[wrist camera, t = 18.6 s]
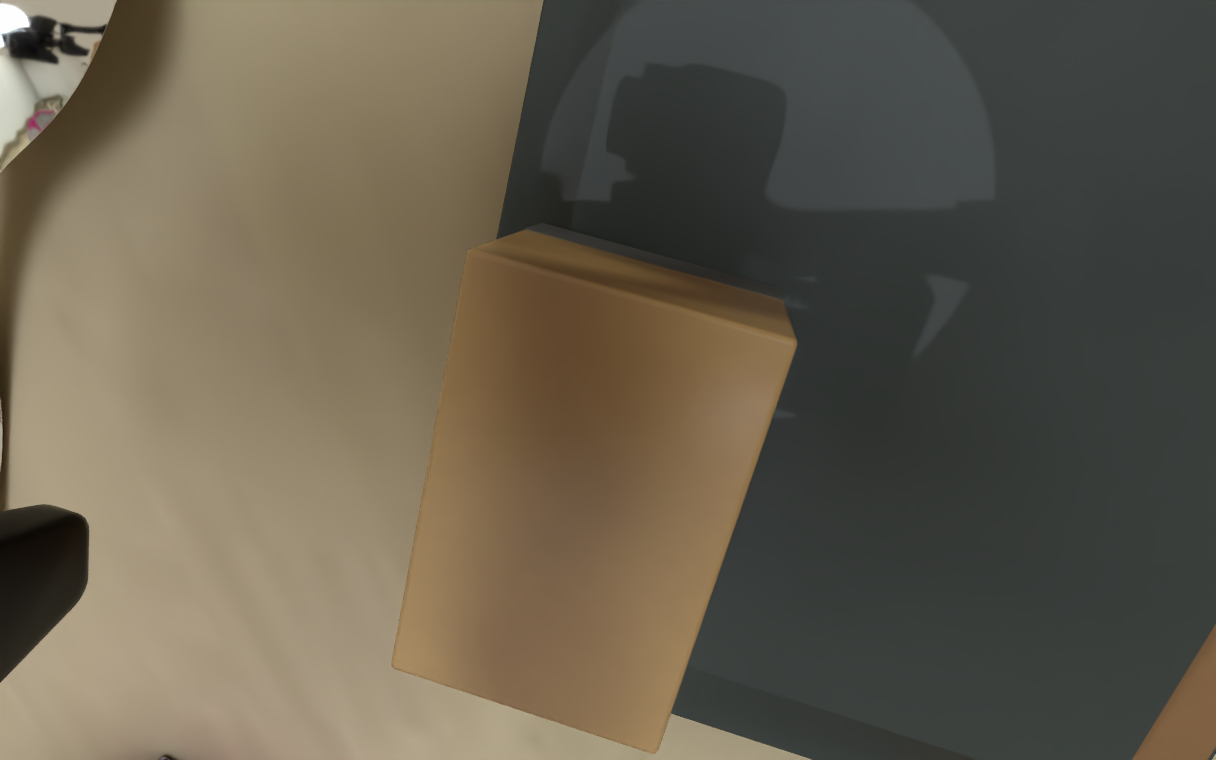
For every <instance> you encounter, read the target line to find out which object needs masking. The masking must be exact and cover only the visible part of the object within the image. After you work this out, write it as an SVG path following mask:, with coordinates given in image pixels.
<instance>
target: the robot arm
mask: <svg viewBox="0 0 1216 760" xmlns="http://www.w3.org/2000/svg"><path fill="white" fill-rule="evenodd" d="M88 560H89V525H88V523H87V521H86V519H85V517H83V516H82V515H80V514H78V513H75V512H72V511H69V510H66V509H63V508H60V507H57V506H53V505H46V504H42V505H35V506H29V507H24V508H18V509H12V510H6V511H0V682H1V681H2V680H3V679H4V678H5V677H6V676H7V675H8V674H9V673H10V672H11V671H12V670H13V669H14V668H15V667H16V666H17V665H18V664H19V663H20V662H21V661H22V660H23V659H24V658H25V657H26V656H27V655H28V654H29V652H30V651H31V650H32V649H33V648H34V647H35V646H36V645H37V644H38V643H39V642H40V641H41V640H42V639H43V638H44V637H45V636H46V635H47V634H48V633H49V632H50V631H51V630H52V629H53V628H54V627H55V626H56V625H57V624H58V623H59V621H60V620H61V619H62V618H63V617H64V616H65V615H66V614H67V613H68V612H69V611H70V610H71V609H72V608H73V607H74V606H75V605H76V603H77V602H78V601H79V599H80V598H81V596H82V595H83V593H84V591H85V589H86V585H87V582H88Z"/></svg>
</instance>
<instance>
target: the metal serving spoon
mask: <svg viewBox="0 0 1216 760" xmlns="http://www.w3.org/2000/svg"><path fill="white" fill-rule="evenodd" d="M116 1H117V0H0V173H1V172H2V171H3V170H4V168H5V167H6V166H7V165H8V164H9V163H10V162H11V161H12V160H13V159H14V158H15V157H16V156H17V155H18V154H19V153H20V152H21V151H22V150H23V149H25V148H26V147H27V146H28V145H29V144H30V143H31V142H32V141H33V140H34V139H35V138H36V137H37V136H38V135H39V134H40V133H41V132H42V131H43V130H44V129H45V128H46V127H47V126H48V125H49V124H50V123H51V121H52V120H53V119H54V118H55V117H56V116H57V114H58V113H59V112H60V111H61V110H62V108H63V107H64V106H65V104H66V103H67V102H68V100H69V99H70V97H71V96H72V95H73V93H74V91H75V90H76V88H77V87H78V85H79V84H80V82H81V80H82V78H83V77H84V75H85V73H86V71H87V69H88V67H89V66H90V64H91V62H92V60H93V57H94V55H95V53H96V51H97V49H98V47H99V44H100V42H101V40H102V37H103V35H104V33H105V30H106V28H107V25H108V23H109V20H110V18H111V15H112V12H113V10H114V7H115V4H116ZM2 441H3V417H2V402H1V393H0V470H1V460H2Z"/></svg>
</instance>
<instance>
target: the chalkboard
mask: <svg viewBox="0 0 1216 760" xmlns="http://www.w3.org/2000/svg"><path fill="white" fill-rule="evenodd" d="M540 223H545V224H549V225H552V226H556V227H560V228H563V229H567V230H571V231H574V232H578V233H582V234H585V235H589V236H592V237H596V238H600V239H603V240H607V241H611V242H614V243H618V244H622V245H625V246H629V247H633V248H636V249H640V250H644V251H647V252H651V253H655V254H658V255H662V256H665V257H669V258H673V259H676V260H680V261H684V262H687V263H691V264H695V265H698V266H702V267H706V268H709V269H713V270H717V271H720V272H724V273H728V274H731V275H735V276H738V277H742V278H746V279H749V280H753V281H757V282H760V283H764V284H768V285H771V286H775V287H779V288H780V289H781V292H782V295H783V298H784V304H785V307H786V310H787V313H788V316H789V319H790V322H791V325H792V328H793V330H794V333H795V336H796V339H797V348H796V351H795V354H794V357H793V359H792V362H791V365H790V368H789V371H788V374H787V377H786V380H785V383H784V386H783V389H782V391H781V394H780V397H779V400H778V403H777V406H776V409H775V412H774V415H773V418H772V421H771V424H770V426H769V429H768V432H767V435H766V438H765V441H764V444H763V447H762V450H761V453H760V456H759V458H758V461H757V464H756V467H755V470H754V473H753V476H752V479H751V482H750V485H749V488H748V490H747V493H746V496H745V499H744V502H743V505H742V508H741V511H740V514H739V517H738V520H737V522H736V525H735V528H734V531H733V534H732V537H731V540H730V543H729V546H728V549H727V552H726V554H725V557H724V560H723V563H722V566H721V569H720V572H719V575H718V578H717V581H716V584H715V586H714V589H713V592H712V595H711V598H710V601H709V604H708V607H707V610H706V613H705V616H704V618H703V621H702V624H701V627H700V630H699V633H698V636H697V639H696V642H695V645H694V648H693V650H692V653H691V656H690V659H689V662H688V665H687V668H686V671H685V674H684V677H683V680H682V683H681V685H680V688H679V691H678V694H677V697H676V700H675V703H674V706H673V709H672V712H671V713H672V714H675V715H678V716H681V717H684V718H687V719H690V720H693V721H696V722H699V723H702V724H705V725H708V726H711V727H714V728H717V729H721V730H724V731H727V732H730V733H733V734H736V735H739V736H742V737H745V738H748V739H751V740H754V741H757V742H760V743H763V744H766V745H770V746H773V747H776V748H779V749H782V750H785V751H788V752H791V753H794V754H797V755H800V756H803V757H806V758H809V759H812V760H1212V758H1213V757H1214V755H1215V754H1216V0H544V2H543V7H542V12H541V17H540V22H539V27H538V32H537V37H536V42H535V47H534V52H533V57H532V62H531V67H530V73H529V78H528V83H527V88H526V93H525V98H524V103H523V108H522V113H521V118H520V123H519V128H518V133H517V138H516V143H515V148H514V153H513V158H512V164H511V169H510V174H509V179H508V184H507V189H506V194H505V199H504V204H503V209H502V214H501V219H500V224H499V229H498V234H497V239H499V238H502V237H505V236H508V235H511V234H514V233H517V232H519V231H522V230H524V229H525V228H528V227H531V226H534V225H537V224H540ZM497 239H496V240H497Z"/></svg>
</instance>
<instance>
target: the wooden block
mask: <svg viewBox="0 0 1216 760" xmlns="http://www.w3.org/2000/svg"><path fill="white" fill-rule="evenodd" d="M796 348H797V339H796V336H795V333H794V330H793V328H792V325H791V322H790V319H789V316H788V313H787V310H786V307H785V304H784V298H783V295H782V292H781V289H780V288H779V287H775V286H771V285H768V284H764V283H760V282H757V281H753V280H749V279H746V278H742V277H738V276H735V275H731V274H728V273H724V272H720V271H717V270H713V269H709V268H706V267H702V266H698V265H695V264H691V263H687V262H684V261H680V260H676V259H673V258H669V257H665V256H662V255H658V254H655V253H651V252H647V251H644V250H640V249H636V248H633V247H629V246H625V245H622V244H618V243H614V242H611V241H607V240H603V239H600V238H596V237H592V236H589V235H585V234H582V233H578V232H574V231H571V230H567V229H563V228H560V227H556V226H552V225H549V224H545V223H540V224H537V225H534V226H531V227H528V228H525V229H524V230H522V231H519V232H517V233H514V234H511V235H508V236H505V237H502V238H499V239H497V240H494V241H491V242H488V243H485V244H482V245H479V246H477V247H474V248H471V249H469V250H468V252H467V254H466V260H465V265H464V271H463V276H462V282H461V287H460V292H459V298H458V303H457V309H456V314H455V320H454V325H453V331H452V336H451V341H450V347H449V352H448V358H447V363H446V369H445V374H444V380H443V385H442V390H441V396H440V401H439V407H438V412H437V418H436V423H435V428H434V434H433V439H432V445H431V450H430V456H429V461H428V467H427V472H426V477H425V483H424V488H423V494H422V499H421V505H420V510H419V516H418V521H417V526H416V532H415V537H414V543H413V548H412V554H411V559H410V564H409V570H408V575H407V581H406V586H405V592H404V597H403V603H402V608H401V613H400V619H399V624H398V630H397V635H396V641H395V646H394V652H393V657H392V667H393V668H394V669H397V670H400V671H403V672H406V673H409V674H412V675H415V676H418V677H421V678H424V679H427V680H430V681H433V682H436V683H439V684H442V685H445V686H448V687H451V688H455V689H458V690H461V691H464V692H467V693H470V694H473V695H476V696H479V697H482V698H485V699H488V700H491V701H494V702H497V703H500V704H503V705H506V706H509V707H512V708H515V709H518V710H521V711H524V712H527V713H530V714H533V715H536V716H539V717H542V718H545V719H548V720H551V721H555V722H558V723H561V724H564V725H567V726H570V727H573V728H576V729H579V730H582V731H585V732H588V733H591V734H594V735H597V736H600V737H603V738H606V739H609V740H612V741H615V742H618V743H621V744H624V745H627V746H630V747H633V748H636V749H639V750H642V751H645V752H648V753H651V754H653V753H656V752H657V751H658V749H659V747H660V744H661V741H662V738H663V735H664V732H665V729H666V726H667V723H668V720H669V717H670V715H671V712H672V709H673V706H674V703H675V700H676V697H677V694H678V691H679V688H680V685H681V683H682V680H683V677H684V674H685V671H686V668H687V665H688V662H689V659H690V656H691V653H692V650H693V648H694V645H695V642H696V639H697V636H698V633H699V630H700V627H701V624H702V621H703V618H704V616H705V613H706V610H707V607H708V604H709V601H710V598H711V595H712V592H713V589H714V586H715V584H716V581H717V578H718V575H719V572H720V569H721V566H722V563H723V560H724V557H725V554H726V552H727V549H728V546H729V543H730V540H731V537H732V534H733V531H734V528H735V525H736V522H737V520H738V517H739V514H740V511H741V508H742V505H743V502H744V499H745V496H746V493H747V490H748V488H749V485H750V482H751V479H752V476H753V473H754V470H755V467H756V464H757V461H758V458H759V456H760V453H761V450H762V447H763V444H764V441H765V438H766V435H767V432H768V429H769V426H770V424H771V421H772V418H773V415H774V412H775V409H776V406H777V403H778V400H779V397H780V394H781V391H782V389H783V386H784V383H785V380H786V377H787V374H788V371H789V368H790V365H791V362H792V359H793V357H794V354H795V351H796Z"/></svg>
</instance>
